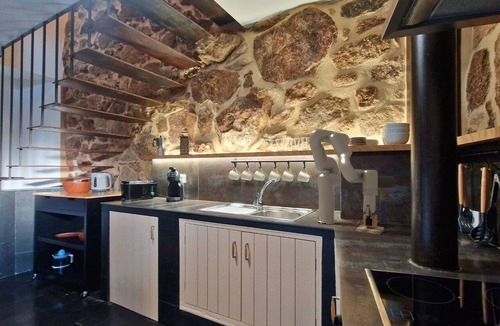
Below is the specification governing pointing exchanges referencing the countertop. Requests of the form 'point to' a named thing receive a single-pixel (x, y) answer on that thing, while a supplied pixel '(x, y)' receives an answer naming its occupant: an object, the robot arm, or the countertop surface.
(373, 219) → the orange brown cube
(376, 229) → the post base
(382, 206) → the rubber mallet
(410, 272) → the countertop surface
